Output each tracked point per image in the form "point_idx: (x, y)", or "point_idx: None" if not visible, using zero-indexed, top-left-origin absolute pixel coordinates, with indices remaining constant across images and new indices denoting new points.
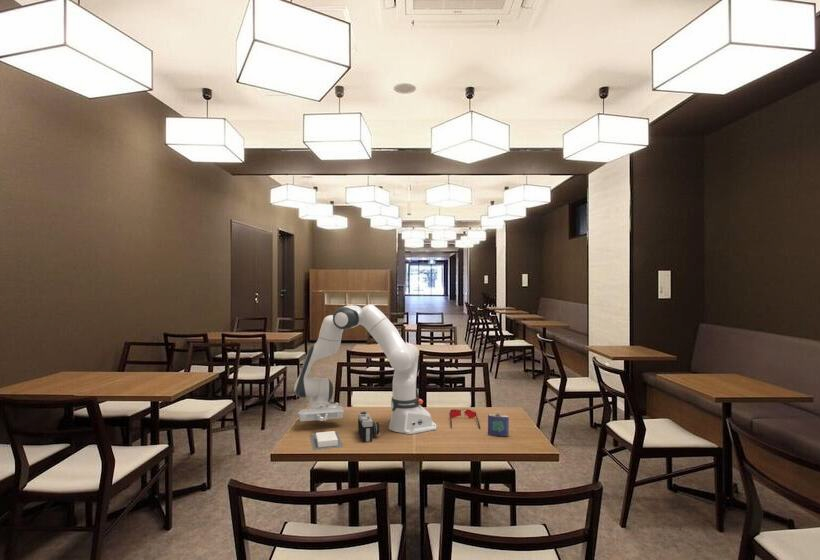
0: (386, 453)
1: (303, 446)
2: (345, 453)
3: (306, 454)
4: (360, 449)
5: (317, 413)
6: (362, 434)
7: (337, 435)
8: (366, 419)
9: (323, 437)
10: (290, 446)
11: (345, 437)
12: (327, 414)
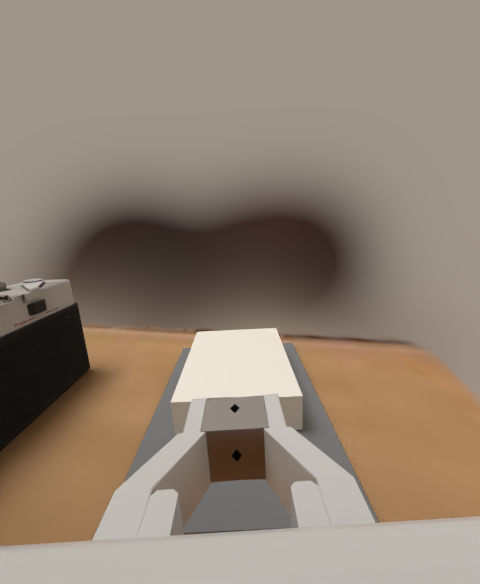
0: (91, 325)
1: (346, 376)
2: (192, 331)
3: (311, 335)
4: (136, 342)
5: (364, 526)
6: (73, 347)
7: (142, 457)
8: (41, 279)
9: (252, 348)
10: (416, 382)
11: (106, 437)
12: (137, 476)
